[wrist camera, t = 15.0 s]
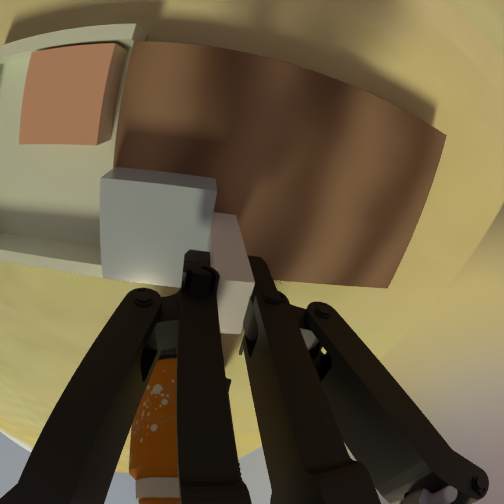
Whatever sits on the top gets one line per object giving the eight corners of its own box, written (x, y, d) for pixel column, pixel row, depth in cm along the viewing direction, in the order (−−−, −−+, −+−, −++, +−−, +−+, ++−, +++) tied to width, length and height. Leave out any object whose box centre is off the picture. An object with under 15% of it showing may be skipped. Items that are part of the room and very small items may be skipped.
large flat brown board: (120, 244, 19) (112, 262, 17) (143, 49, 13) (133, 41, 11) (374, 272, 24) (387, 288, 22) (426, 129, 18) (446, 135, 16)
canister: (127, 370, 26) (115, 544, 9) (176, 312, 23) (181, 562, 6) (194, 396, 30) (209, 550, 13) (253, 349, 27) (300, 545, 10)
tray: (-2, 239, 16) (-19, 256, 14) (0, 55, 9) (-22, 54, 7) (121, 256, 20) (111, 278, 17) (146, 35, 12) (136, 23, 10)
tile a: (38, 138, 13) (18, 144, 11) (50, 55, 11) (31, 52, 9) (110, 139, 15) (96, 145, 13) (127, 50, 12) (115, 43, 10)
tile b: (113, 256, 17) (102, 278, 15) (114, 166, 14) (100, 178, 12) (200, 266, 18) (200, 289, 16) (215, 178, 15) (217, 191, 13)
